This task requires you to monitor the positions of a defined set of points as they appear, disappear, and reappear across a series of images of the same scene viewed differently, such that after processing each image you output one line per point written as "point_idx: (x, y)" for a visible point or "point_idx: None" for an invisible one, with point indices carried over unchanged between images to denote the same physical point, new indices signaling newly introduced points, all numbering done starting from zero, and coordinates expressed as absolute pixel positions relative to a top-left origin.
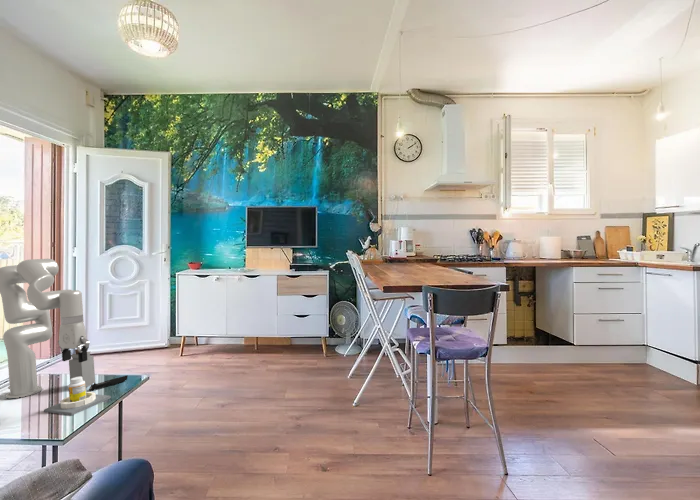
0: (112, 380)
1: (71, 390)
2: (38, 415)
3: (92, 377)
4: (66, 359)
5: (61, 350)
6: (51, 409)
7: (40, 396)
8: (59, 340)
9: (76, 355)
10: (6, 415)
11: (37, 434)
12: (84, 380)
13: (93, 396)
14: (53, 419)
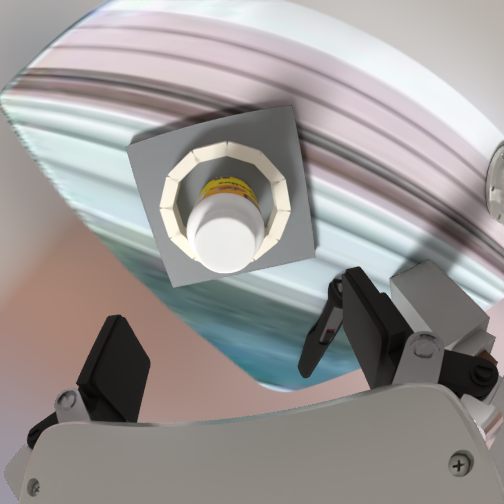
0: (316, 345)
1: (209, 192)
2: (270, 79)
3: None
4: (344, 298)
5: (434, 342)
6: (256, 116)
7: (458, 185)
8: (486, 489)
9: (475, 350)
10: (394, 50)
11: (78, 43)
12: (402, 298)
13: (179, 246)
14: (156, 94)
